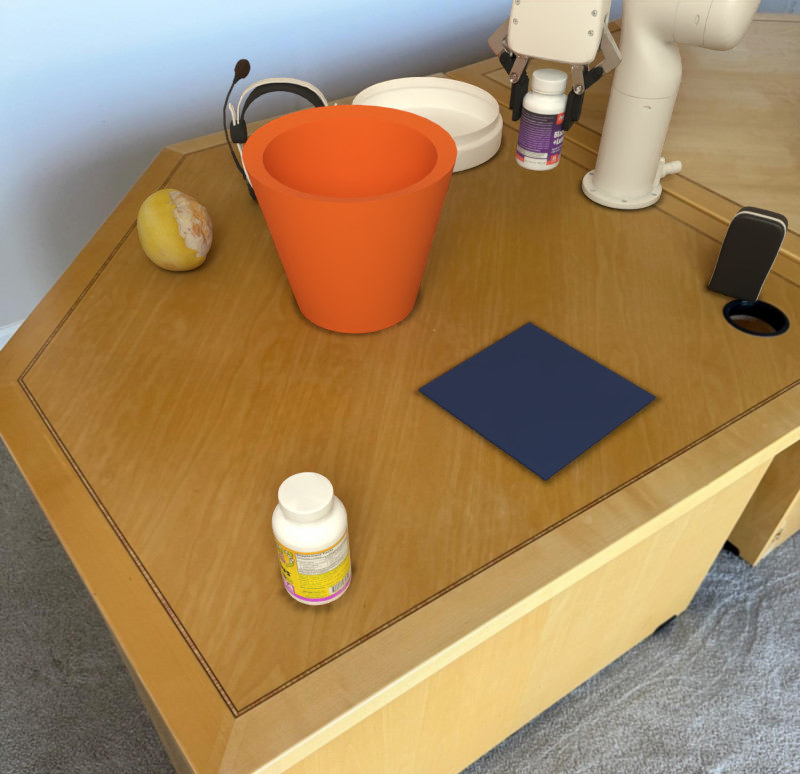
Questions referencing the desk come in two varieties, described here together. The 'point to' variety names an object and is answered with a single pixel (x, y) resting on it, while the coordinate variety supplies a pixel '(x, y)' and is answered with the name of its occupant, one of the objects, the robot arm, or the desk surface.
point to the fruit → (174, 230)
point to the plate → (446, 112)
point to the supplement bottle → (312, 539)
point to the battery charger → (748, 253)
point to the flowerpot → (352, 207)
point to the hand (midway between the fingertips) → (543, 120)
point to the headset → (262, 87)
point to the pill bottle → (542, 121)
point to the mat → (537, 399)
